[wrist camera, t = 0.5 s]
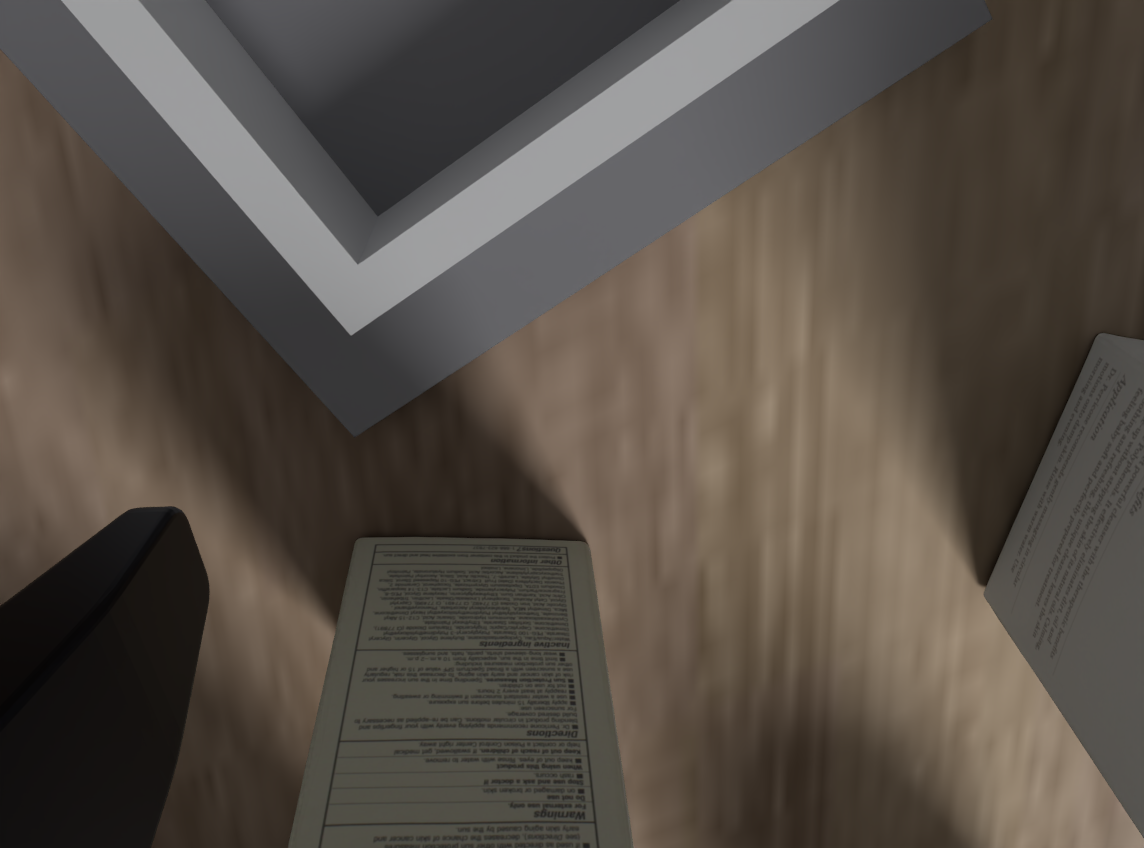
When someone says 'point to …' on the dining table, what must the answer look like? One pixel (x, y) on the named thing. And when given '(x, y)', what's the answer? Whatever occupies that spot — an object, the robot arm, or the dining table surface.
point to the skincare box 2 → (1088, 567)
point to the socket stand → (445, 146)
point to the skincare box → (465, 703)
